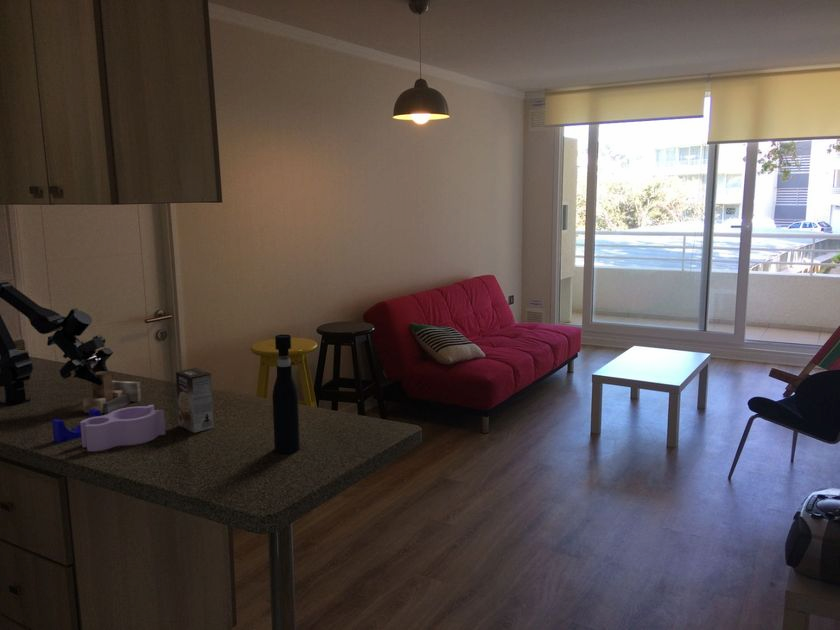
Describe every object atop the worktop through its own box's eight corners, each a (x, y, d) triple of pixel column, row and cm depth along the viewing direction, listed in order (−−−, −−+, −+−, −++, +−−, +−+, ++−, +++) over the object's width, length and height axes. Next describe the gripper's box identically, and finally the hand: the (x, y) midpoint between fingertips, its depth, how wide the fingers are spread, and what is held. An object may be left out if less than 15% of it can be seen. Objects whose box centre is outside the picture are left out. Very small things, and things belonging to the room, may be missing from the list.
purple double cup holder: (93, 456, 173) (91, 430, 171) (77, 443, 181) (74, 418, 180) (170, 436, 186) (168, 412, 185) (151, 425, 195) (149, 402, 194)
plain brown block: (93, 405, 210) (91, 374, 208) (102, 401, 214) (99, 370, 212) (105, 406, 209) (103, 374, 207) (113, 402, 213) (111, 371, 211)
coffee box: (177, 425, 194) (174, 371, 192) (198, 420, 199) (195, 367, 196) (194, 433, 188) (190, 377, 185) (215, 427, 193) (212, 372, 190)
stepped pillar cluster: (72, 411, 208) (70, 392, 206) (102, 397, 221) (100, 379, 220) (113, 414, 205) (111, 394, 204) (141, 400, 219) (139, 382, 218)
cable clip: (93, 427, 193) (91, 407, 192) (102, 431, 191) (100, 410, 190) (50, 440, 184) (48, 419, 183) (59, 443, 181) (57, 422, 180)
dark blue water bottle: (287, 455, 172) (283, 339, 167) (269, 450, 175) (264, 336, 170) (304, 447, 177) (301, 335, 172) (286, 443, 181) (282, 332, 176)
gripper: (64, 334, 199) (101, 373, 199) (105, 322, 217) (139, 358, 217) (43, 359, 202) (80, 397, 202) (85, 345, 220) (118, 380, 220)
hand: (105, 382), depth 210 cm, fingers closed on plain brown block, 4 cm apart
